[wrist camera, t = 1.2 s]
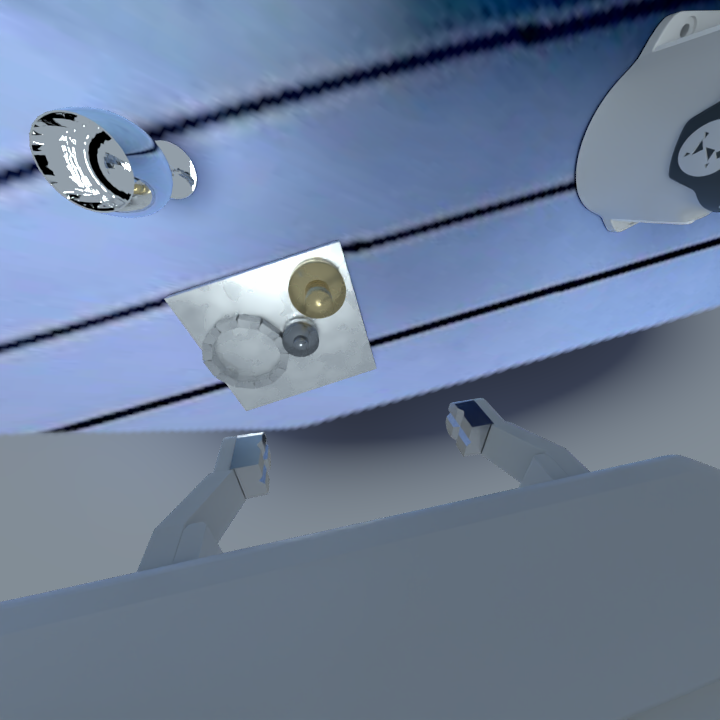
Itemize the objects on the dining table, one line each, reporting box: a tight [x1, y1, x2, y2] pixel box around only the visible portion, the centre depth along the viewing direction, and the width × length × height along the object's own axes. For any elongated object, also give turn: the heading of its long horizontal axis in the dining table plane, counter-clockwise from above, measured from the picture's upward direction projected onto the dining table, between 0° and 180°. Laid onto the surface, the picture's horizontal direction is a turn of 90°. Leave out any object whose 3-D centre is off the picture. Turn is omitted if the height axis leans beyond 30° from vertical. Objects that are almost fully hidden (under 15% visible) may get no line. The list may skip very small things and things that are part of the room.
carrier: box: [165, 240, 376, 411], centre depth 34 cm, size 20×18×4 cm
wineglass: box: [29, 107, 197, 218], centre depth 20 cm, size 6×6×12 cm
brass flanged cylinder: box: [288, 259, 346, 319], centre depth 30 cm, size 6×6×6 cm
